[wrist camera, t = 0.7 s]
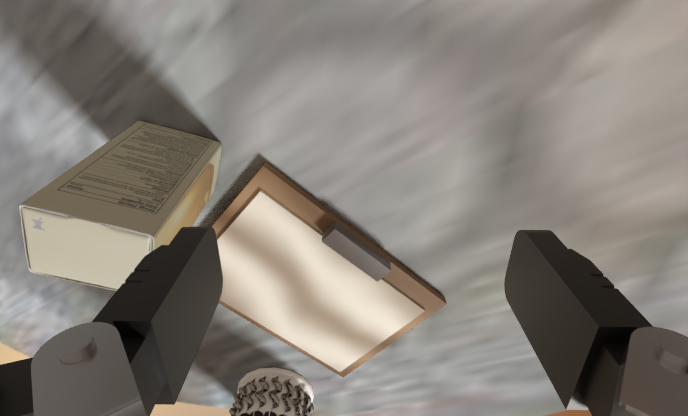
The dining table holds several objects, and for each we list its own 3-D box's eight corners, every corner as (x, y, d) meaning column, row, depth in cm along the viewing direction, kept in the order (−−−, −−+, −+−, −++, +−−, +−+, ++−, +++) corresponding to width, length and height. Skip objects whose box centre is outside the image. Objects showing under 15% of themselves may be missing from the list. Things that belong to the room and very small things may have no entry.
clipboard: (265, 161, 30) (259, 173, 28) (444, 297, 36) (449, 314, 34) (174, 268, 36) (165, 283, 34) (343, 370, 42) (342, 387, 40)
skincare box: (136, 170, 31) (19, 272, 20) (138, 117, 29) (8, 201, 18) (219, 192, 31) (148, 302, 21) (227, 143, 29) (152, 237, 19)
